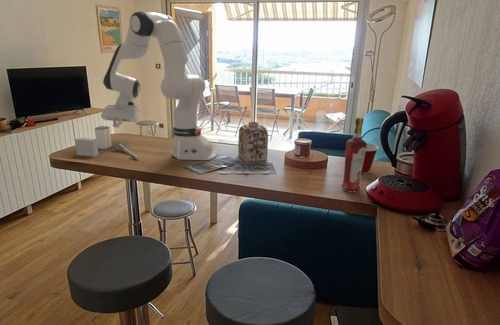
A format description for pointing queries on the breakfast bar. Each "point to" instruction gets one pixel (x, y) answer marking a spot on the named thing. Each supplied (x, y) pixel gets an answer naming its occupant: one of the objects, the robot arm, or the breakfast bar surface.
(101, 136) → the cream rectangular box
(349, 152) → the liquor
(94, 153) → the grey holder
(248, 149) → the decorative jar
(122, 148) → the caliper
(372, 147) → the plastic cup
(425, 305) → the breakfast bar surface
